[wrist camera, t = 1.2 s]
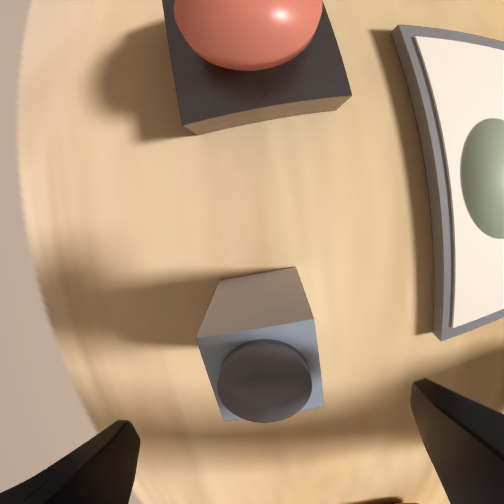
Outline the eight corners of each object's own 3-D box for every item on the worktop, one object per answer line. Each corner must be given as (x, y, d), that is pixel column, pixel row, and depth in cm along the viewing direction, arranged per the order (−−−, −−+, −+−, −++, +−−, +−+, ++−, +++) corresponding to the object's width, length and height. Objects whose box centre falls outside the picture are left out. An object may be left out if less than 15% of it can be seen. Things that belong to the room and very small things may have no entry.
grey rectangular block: (295, 266, 16) (317, 330, 9) (306, 334, 17) (327, 420, 10) (219, 280, 16) (191, 349, 9) (236, 345, 17) (221, 434, 10)
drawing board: (505, 49, 12) (517, 44, 10) (531, 294, 16) (543, 300, 14) (390, 32, 13) (400, 22, 11) (432, 332, 17) (443, 343, 15)
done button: (293, -5, 11) (300, -53, 7) (319, 81, 12) (340, 48, 8) (189, 13, 11) (167, -30, 7) (206, 102, 12) (184, 74, 8)
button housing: (303, -1, 12) (310, -30, 10) (336, 110, 14) (352, 95, 11) (177, 22, 13) (161, -4, 10) (197, 135, 15) (182, 125, 12)
